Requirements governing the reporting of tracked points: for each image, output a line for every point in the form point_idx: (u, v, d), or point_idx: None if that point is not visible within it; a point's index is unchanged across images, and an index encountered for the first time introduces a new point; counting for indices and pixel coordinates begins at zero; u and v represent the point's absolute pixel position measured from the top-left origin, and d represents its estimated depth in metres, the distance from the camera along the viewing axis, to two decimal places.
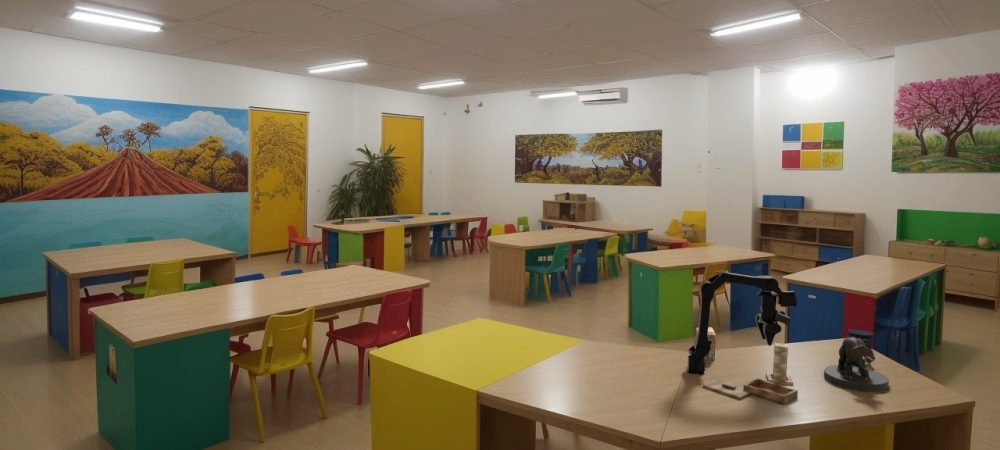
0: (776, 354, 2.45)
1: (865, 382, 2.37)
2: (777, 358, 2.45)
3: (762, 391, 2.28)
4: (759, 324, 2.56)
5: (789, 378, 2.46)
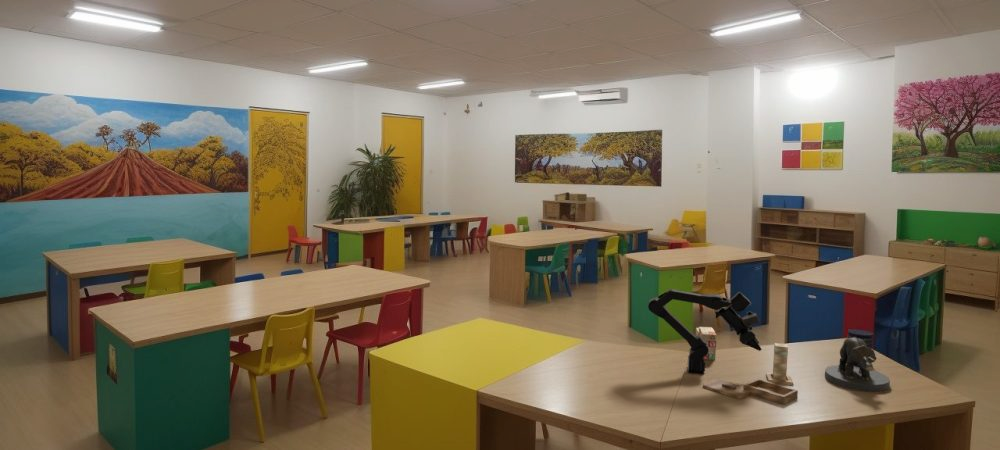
0: (776, 354, 2.45)
1: (867, 383, 2.37)
2: (777, 358, 2.45)
3: (762, 391, 2.28)
4: None
5: (789, 378, 2.46)
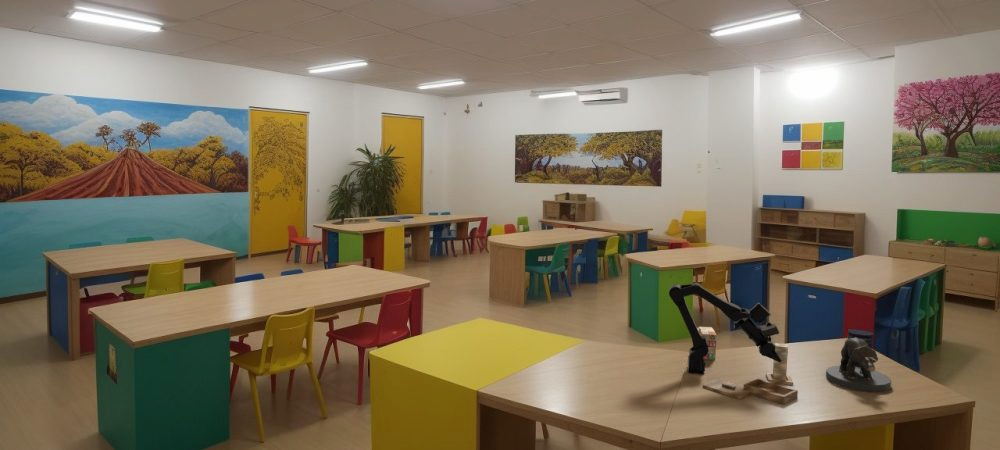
0: None
1: (868, 383, 2.36)
2: None
3: (762, 391, 2.28)
4: None
5: (789, 378, 2.46)
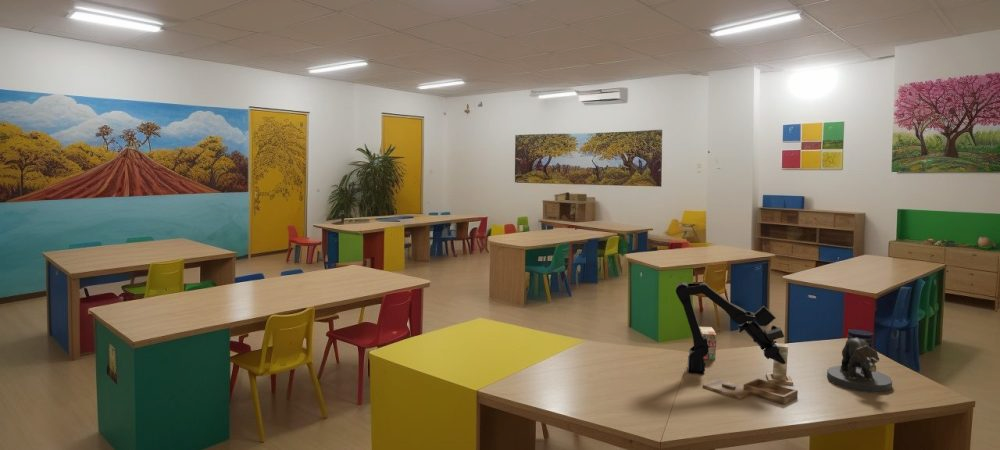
0: None
1: (869, 383, 2.36)
2: None
3: (762, 391, 2.28)
4: None
5: (789, 378, 2.46)
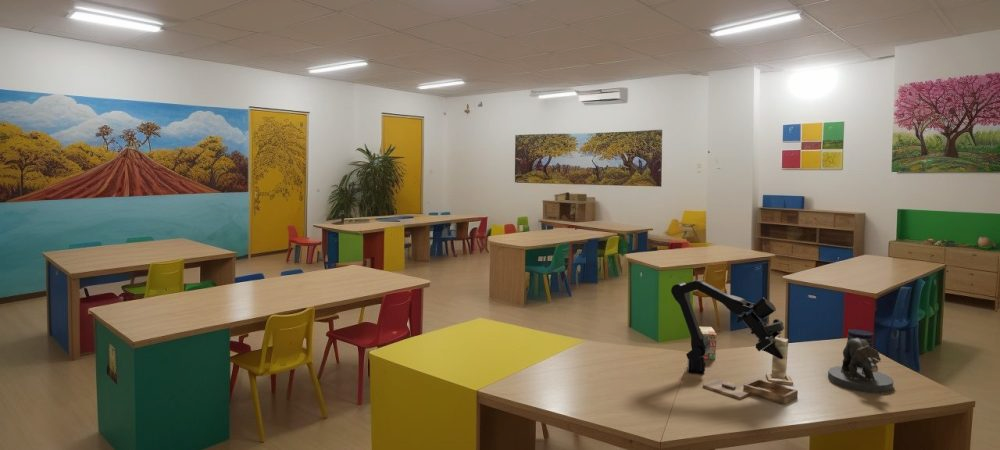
0: None
1: (871, 384, 2.36)
2: None
3: (762, 391, 2.28)
4: None
5: (789, 378, 2.46)
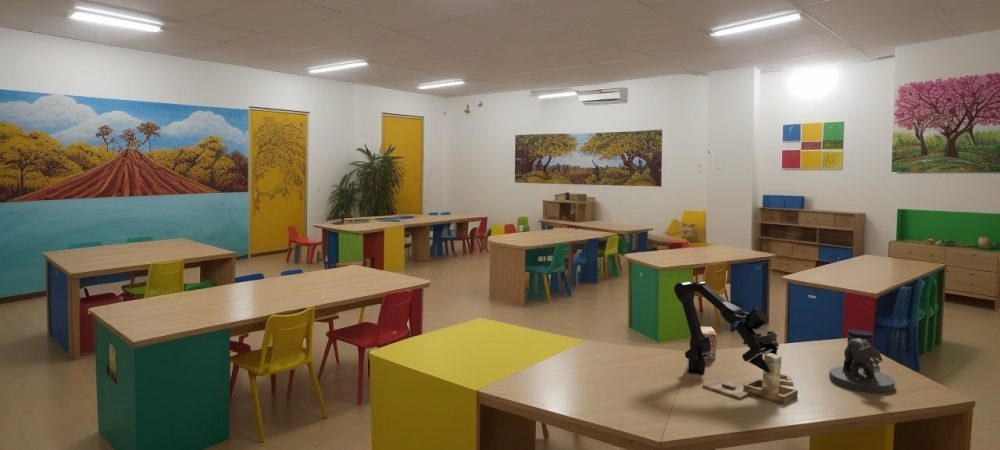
0: None
1: (873, 384, 2.35)
2: None
3: (762, 391, 2.28)
4: None
5: (789, 378, 2.46)
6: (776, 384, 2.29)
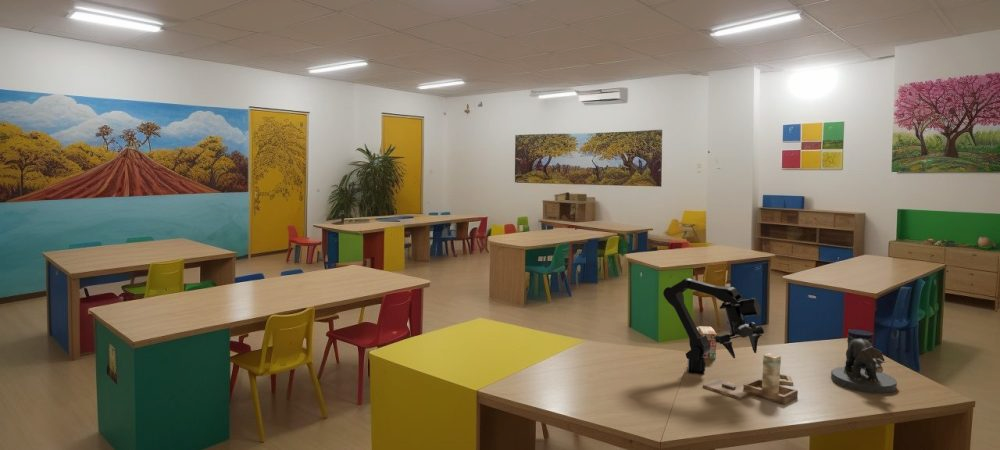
0: (764, 364, 2.30)
1: (875, 384, 2.35)
2: (765, 368, 2.30)
3: (762, 391, 2.28)
4: (749, 337, 2.46)
5: (789, 378, 2.46)
6: (776, 384, 2.29)
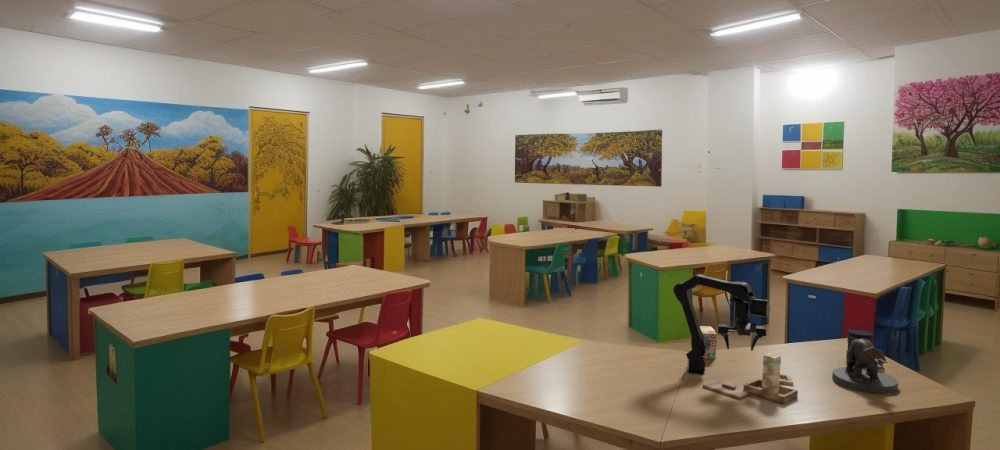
0: (764, 364, 2.30)
1: (877, 385, 2.35)
2: (765, 368, 2.30)
3: (762, 391, 2.28)
4: (752, 334, 2.46)
5: (789, 378, 2.46)
6: (776, 384, 2.29)
